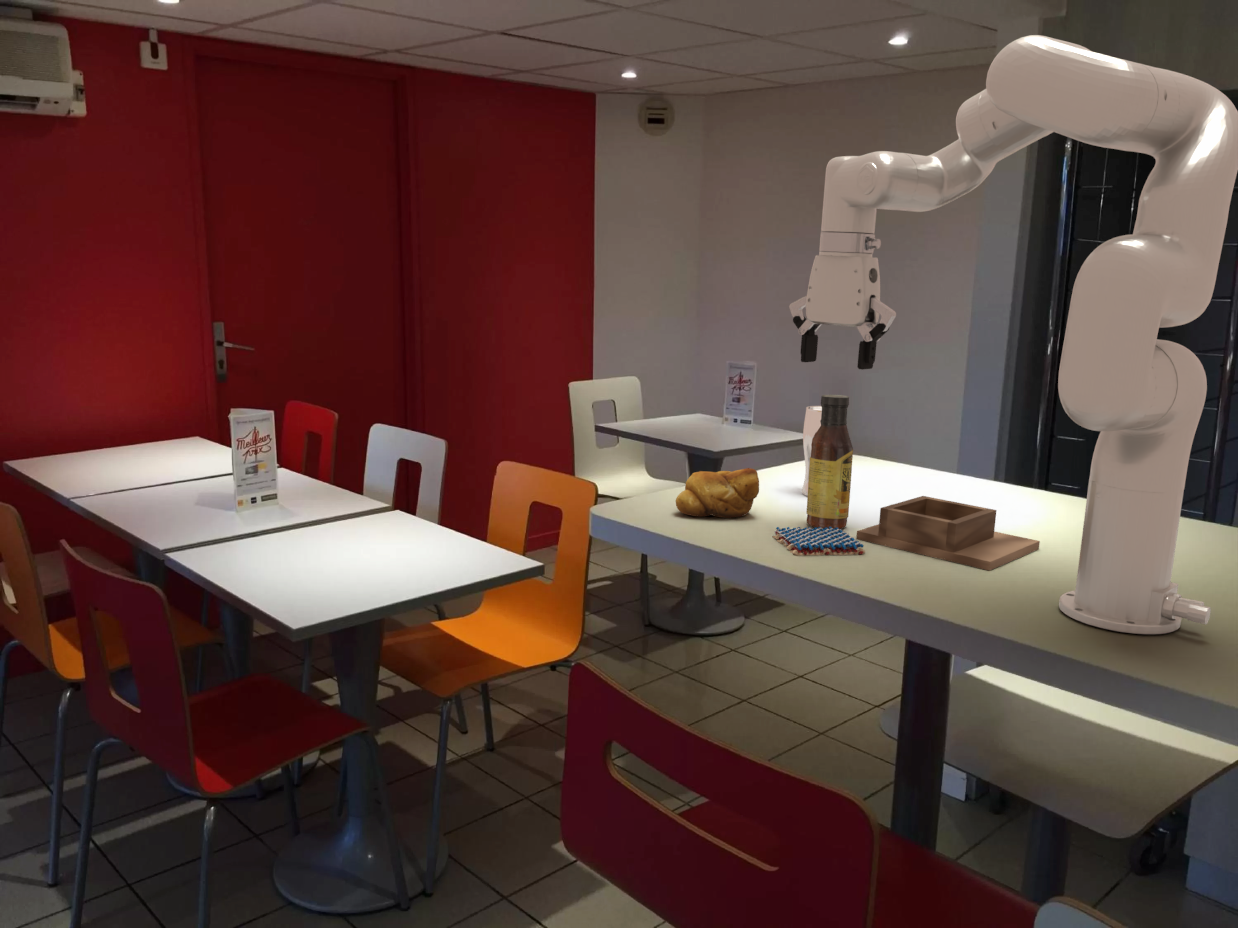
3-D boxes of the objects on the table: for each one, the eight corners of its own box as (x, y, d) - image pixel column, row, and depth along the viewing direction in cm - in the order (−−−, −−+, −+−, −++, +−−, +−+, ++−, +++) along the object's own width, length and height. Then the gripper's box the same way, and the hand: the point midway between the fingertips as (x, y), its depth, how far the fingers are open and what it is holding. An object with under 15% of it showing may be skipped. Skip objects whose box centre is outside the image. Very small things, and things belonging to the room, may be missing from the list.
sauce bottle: (847, 533, 149) (858, 399, 145) (804, 529, 150) (814, 397, 147) (847, 522, 156) (856, 394, 152) (805, 519, 157) (814, 392, 153)
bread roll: (680, 522, 153) (683, 470, 151) (667, 506, 162) (669, 457, 161) (762, 520, 155) (765, 469, 154) (744, 506, 165) (747, 457, 163)
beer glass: (791, 491, 176) (796, 406, 173) (824, 488, 179) (830, 405, 176) (814, 500, 170) (821, 412, 167) (848, 497, 173) (855, 410, 170)
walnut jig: (1038, 549, 144) (1042, 513, 143) (989, 570, 132) (993, 532, 131) (910, 521, 157) (913, 489, 156) (856, 538, 146) (859, 503, 145)
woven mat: (838, 538, 148) (839, 525, 148) (867, 558, 138) (868, 544, 138) (769, 539, 147) (770, 525, 146) (794, 559, 136) (795, 545, 136)
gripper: (914, 249, 142) (901, 370, 145) (810, 245, 154) (801, 358, 157) (886, 247, 137) (874, 373, 140) (781, 244, 148) (773, 360, 152)
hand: (836, 365), depth 149 cm, fingers open, 9 cm apart
